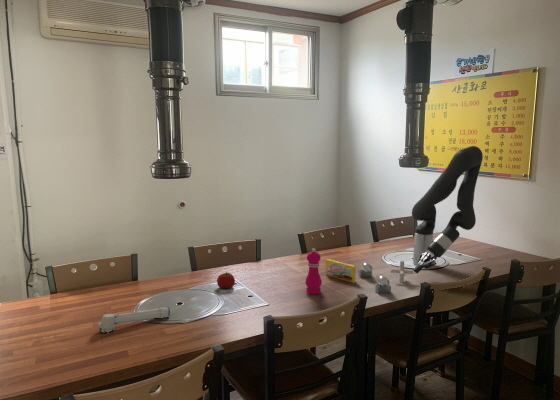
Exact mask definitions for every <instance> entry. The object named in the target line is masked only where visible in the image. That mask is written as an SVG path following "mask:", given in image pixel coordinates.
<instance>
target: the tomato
mask: <svg viewBox="0 0 560 400" xmlns="http://www.w3.org/2000/svg"><path fill="white" fill-rule="evenodd" d="M216 283H217V287H219V289H225V288H229V289H231V288H234V285H235V283H236V280H235V276H234V275H233V274H232V273H230V272H227V271H226V272H223V273H221V274H219V276H218V277H217V279H216Z"/></svg>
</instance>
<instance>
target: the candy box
mask: <svg viewBox="0 0 560 400" xmlns="http://www.w3.org/2000/svg"><path fill="white" fill-rule="evenodd" d="M325 275H326V276H328V277H332V278H335V279H339V280H342V281H345V282H346V281H347V282H349V283H353V284H354V283H355V282H356V265H354V264H350V263H345V262H342V261H337V260H334V259H330V258H327V259H325Z"/></svg>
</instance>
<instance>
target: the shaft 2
mask: <svg viewBox="0 0 560 400" xmlns="http://www.w3.org/2000/svg"><path fill="white" fill-rule="evenodd" d="M374 279H375V281H376V282H377V283H378V284H375V286H374V287H375V289H374V290H375V293H376V294H378V295H383V294H384V295H385V294H391V293H392V286H391V285H390V279H388V278H387V277H386V276H384V275H383V274H382V273H379V274H377V275H376V276H375V278H374Z"/></svg>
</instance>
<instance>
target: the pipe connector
mask: <svg viewBox="0 0 560 400" xmlns="http://www.w3.org/2000/svg"><path fill="white" fill-rule="evenodd" d="M399 262H400V263H399V267H398V268H397V269H396V268H391V269H390V273H391V274H399V283H404V280H405V279H404V278H405V277H406V274H409V275H410V274H411V275H414V271H413V269H405V261H404V260H400V261H399Z"/></svg>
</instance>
